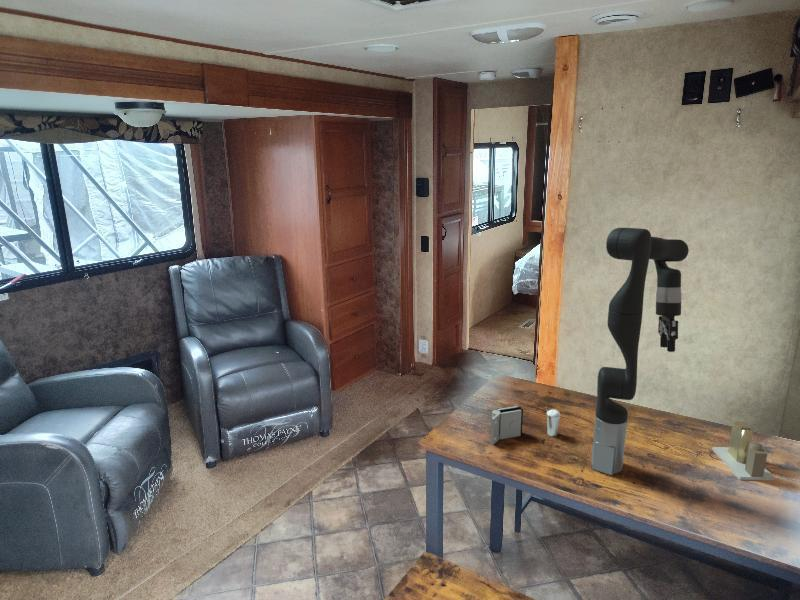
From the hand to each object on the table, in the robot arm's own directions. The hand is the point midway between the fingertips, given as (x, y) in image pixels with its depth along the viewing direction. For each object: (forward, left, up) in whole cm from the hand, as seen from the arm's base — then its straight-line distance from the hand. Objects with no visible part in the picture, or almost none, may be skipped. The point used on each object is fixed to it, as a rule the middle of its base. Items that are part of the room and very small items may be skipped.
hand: (667, 349), depth 177 cm
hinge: (-33, +42, -32) cm, 62 cm away
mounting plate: (-3, -26, -32) cm, 41 cm away
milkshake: (-21, +30, -32) cm, 49 cm away
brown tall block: (-1, -24, -31) cm, 39 cm away
